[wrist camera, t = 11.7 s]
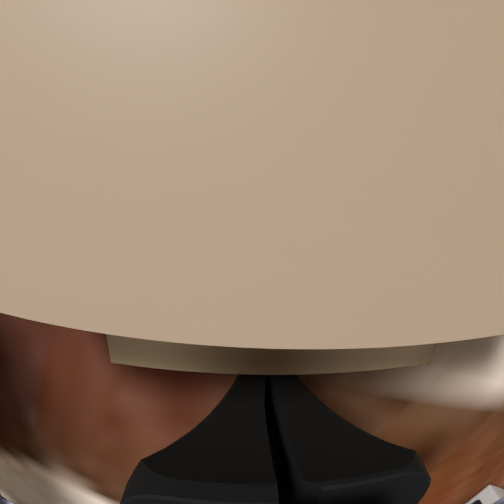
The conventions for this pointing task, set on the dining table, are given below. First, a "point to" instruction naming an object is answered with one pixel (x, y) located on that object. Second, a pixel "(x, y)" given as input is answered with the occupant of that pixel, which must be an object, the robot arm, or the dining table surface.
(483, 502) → the container
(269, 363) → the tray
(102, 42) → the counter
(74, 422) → the dining table surface
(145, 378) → the dining table surface
